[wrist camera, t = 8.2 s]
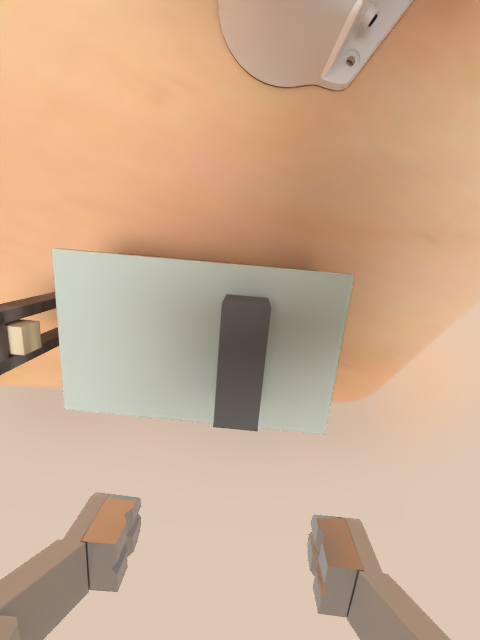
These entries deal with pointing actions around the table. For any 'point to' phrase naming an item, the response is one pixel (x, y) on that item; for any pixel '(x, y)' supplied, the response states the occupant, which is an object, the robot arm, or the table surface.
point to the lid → (199, 339)
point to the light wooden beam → (23, 336)
